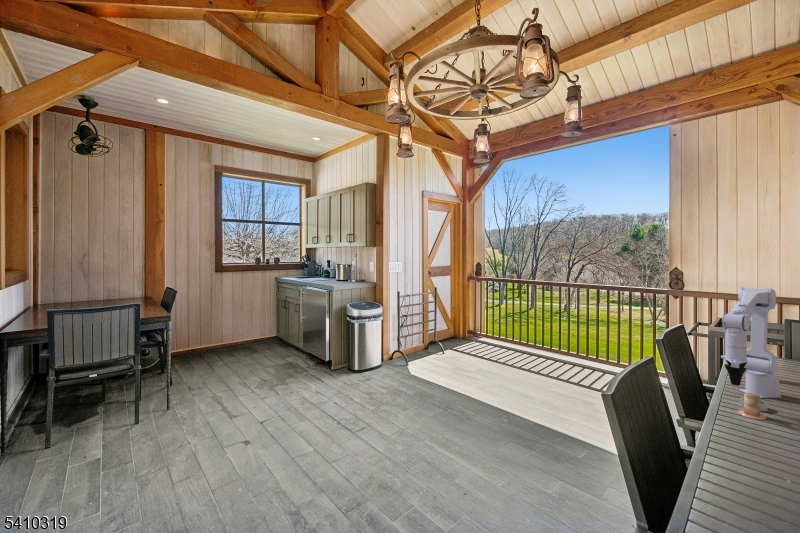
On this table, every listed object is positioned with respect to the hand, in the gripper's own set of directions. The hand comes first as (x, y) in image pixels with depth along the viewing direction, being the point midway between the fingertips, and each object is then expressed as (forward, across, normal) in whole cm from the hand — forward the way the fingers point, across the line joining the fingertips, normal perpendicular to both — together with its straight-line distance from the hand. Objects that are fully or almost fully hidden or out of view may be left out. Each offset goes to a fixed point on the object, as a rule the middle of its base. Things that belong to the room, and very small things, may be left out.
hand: (735, 382), depth 126 cm
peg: (+10, +2, +4) cm, 11 cm away
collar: (+10, -7, +5) cm, 13 cm away
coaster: (+10, +2, +4) cm, 11 cm away
